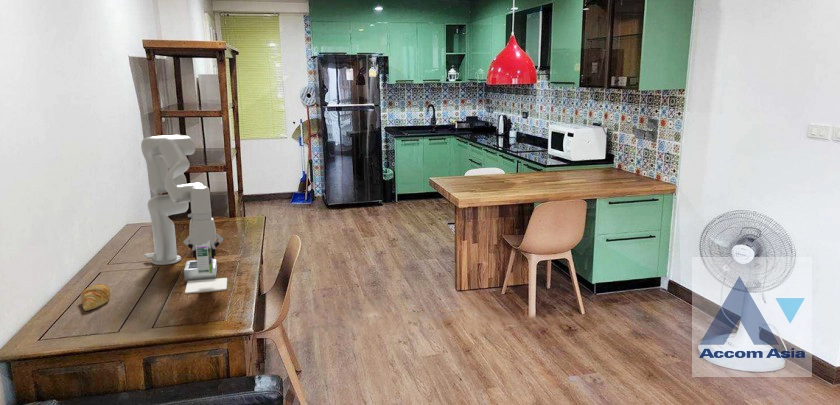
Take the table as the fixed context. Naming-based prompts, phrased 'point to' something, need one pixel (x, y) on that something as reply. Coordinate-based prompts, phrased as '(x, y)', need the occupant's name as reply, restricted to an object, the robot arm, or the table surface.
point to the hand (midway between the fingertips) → (204, 257)
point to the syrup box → (204, 258)
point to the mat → (206, 285)
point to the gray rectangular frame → (192, 271)
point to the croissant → (95, 296)
